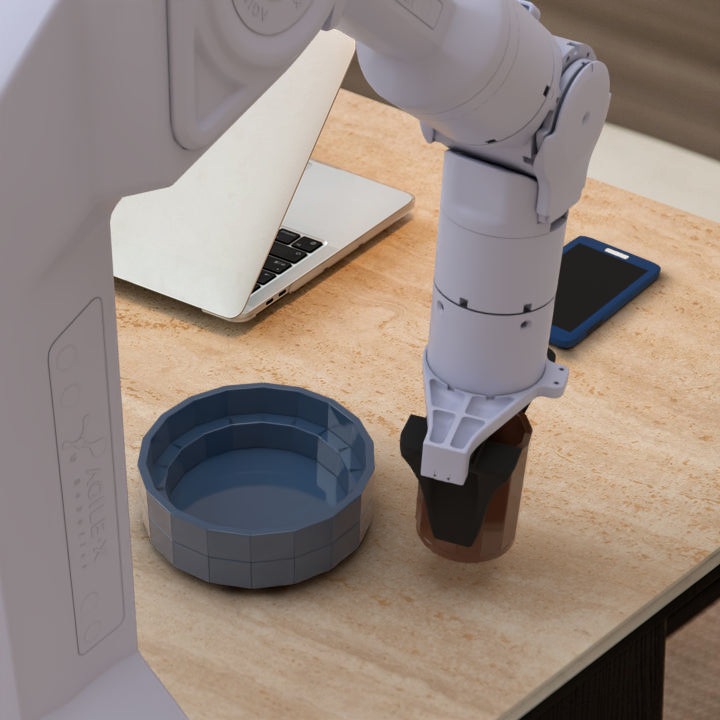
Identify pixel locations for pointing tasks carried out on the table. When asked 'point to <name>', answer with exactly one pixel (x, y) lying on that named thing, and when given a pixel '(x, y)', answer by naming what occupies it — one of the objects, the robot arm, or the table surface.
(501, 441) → the cup
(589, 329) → the cell phone
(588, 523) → the table surface
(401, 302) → the table surface
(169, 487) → the bowl
